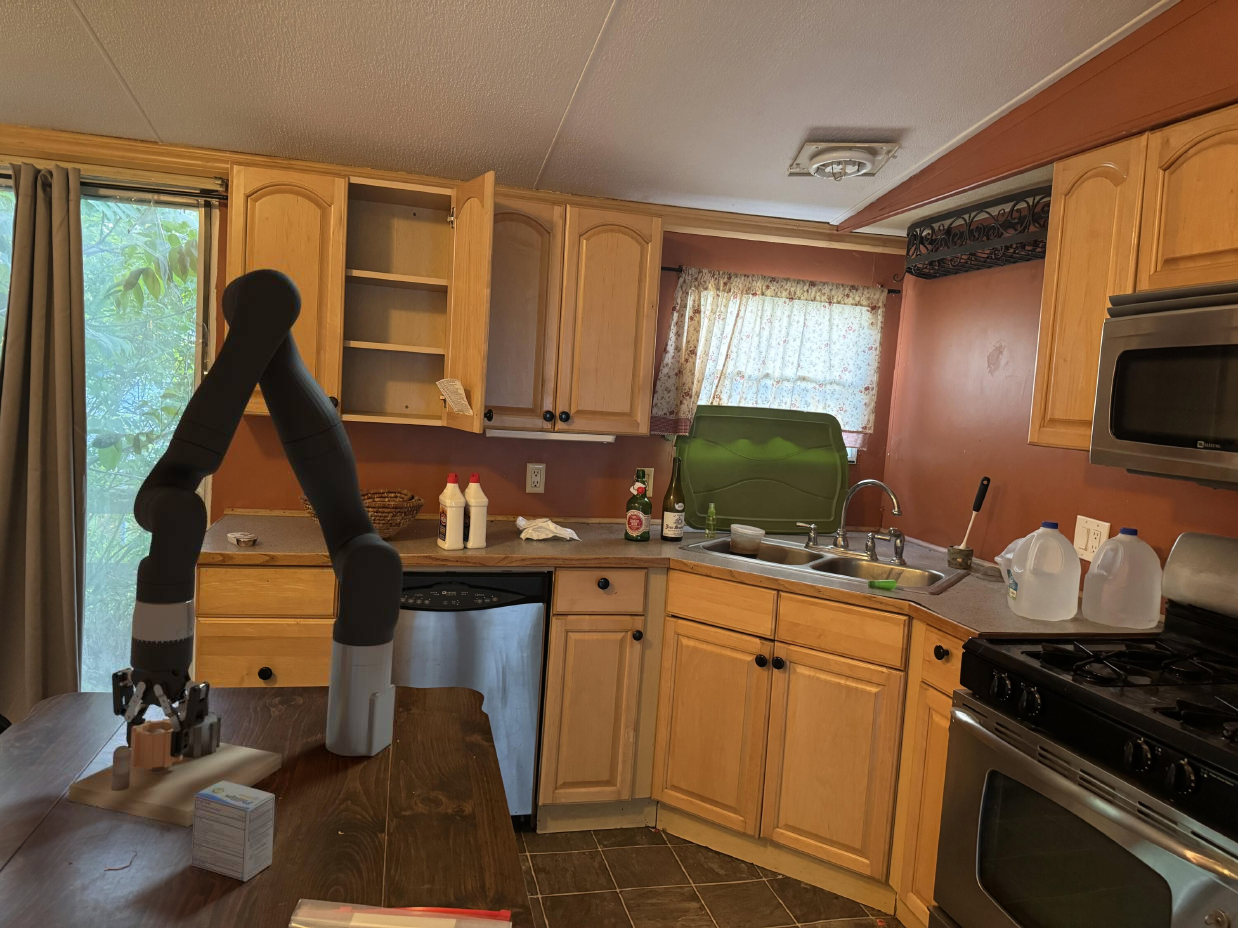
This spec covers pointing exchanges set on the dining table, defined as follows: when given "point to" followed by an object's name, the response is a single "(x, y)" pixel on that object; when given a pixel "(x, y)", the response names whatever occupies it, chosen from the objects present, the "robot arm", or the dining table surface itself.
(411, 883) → the dining table surface
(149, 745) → the loose gear
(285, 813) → the dining table surface
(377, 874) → the dining table surface
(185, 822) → the gear board
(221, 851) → the medicine box
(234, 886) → the dining table surface
